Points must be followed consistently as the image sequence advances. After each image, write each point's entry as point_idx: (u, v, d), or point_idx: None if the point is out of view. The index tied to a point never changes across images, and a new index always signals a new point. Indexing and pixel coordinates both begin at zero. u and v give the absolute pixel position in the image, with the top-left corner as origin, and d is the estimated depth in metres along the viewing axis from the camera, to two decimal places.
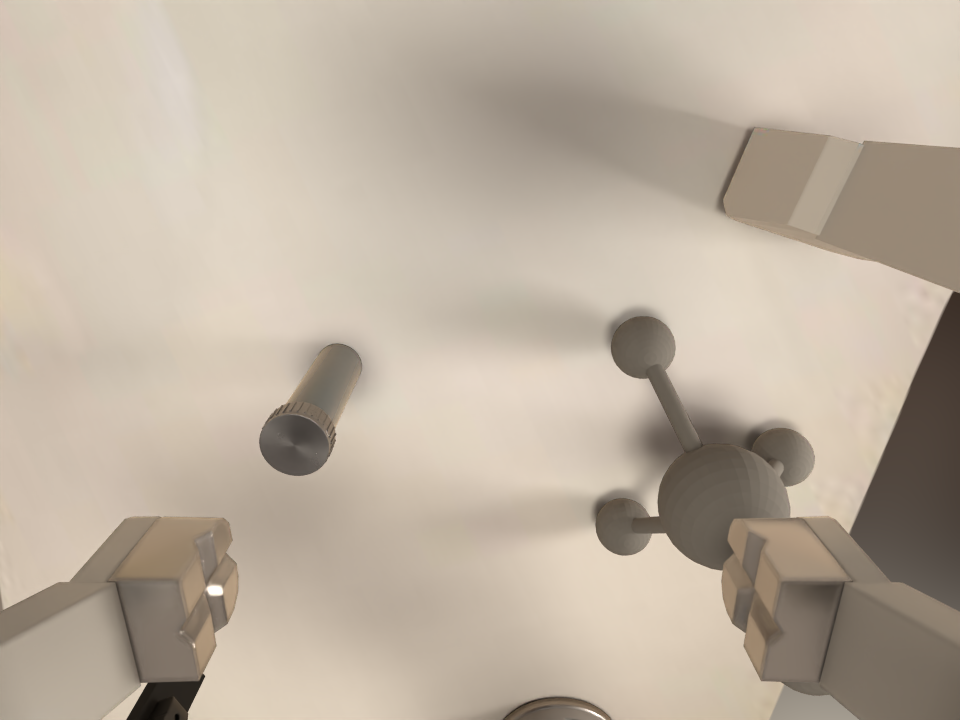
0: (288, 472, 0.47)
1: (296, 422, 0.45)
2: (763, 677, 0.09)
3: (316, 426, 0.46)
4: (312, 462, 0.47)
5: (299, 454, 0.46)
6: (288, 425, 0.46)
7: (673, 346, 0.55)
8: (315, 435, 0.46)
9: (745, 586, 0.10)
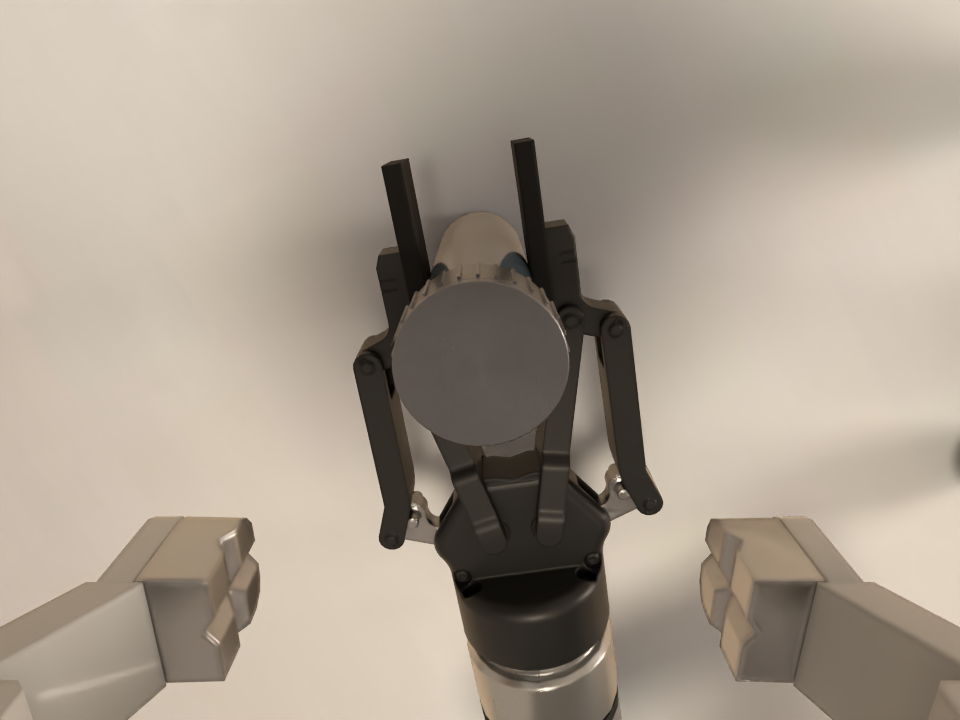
0: (470, 439, 0.19)
1: (481, 303, 0.17)
2: (737, 677, 0.09)
3: (533, 306, 0.18)
4: (529, 404, 0.19)
5: (495, 389, 0.18)
6: (461, 315, 0.18)
7: None
8: (532, 331, 0.18)
9: (721, 586, 0.10)
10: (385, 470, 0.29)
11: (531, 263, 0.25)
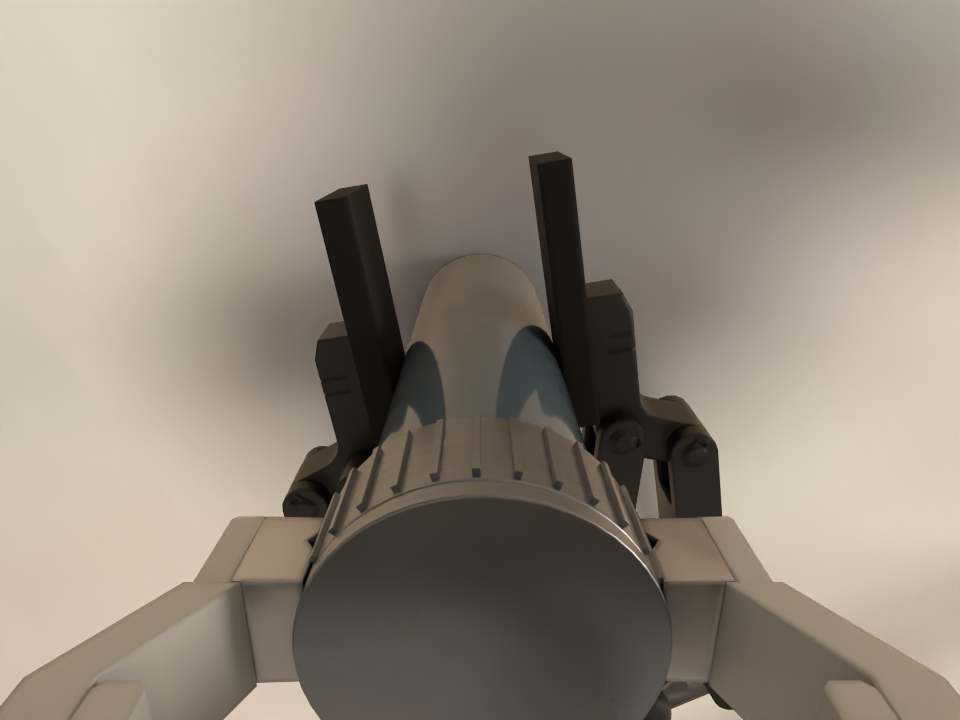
0: None
1: (484, 538, 0.08)
2: None
3: (600, 543, 0.08)
4: None
5: (512, 695, 0.09)
6: (440, 561, 0.08)
7: None
8: (596, 592, 0.08)
9: None
10: None
11: (563, 356, 0.16)
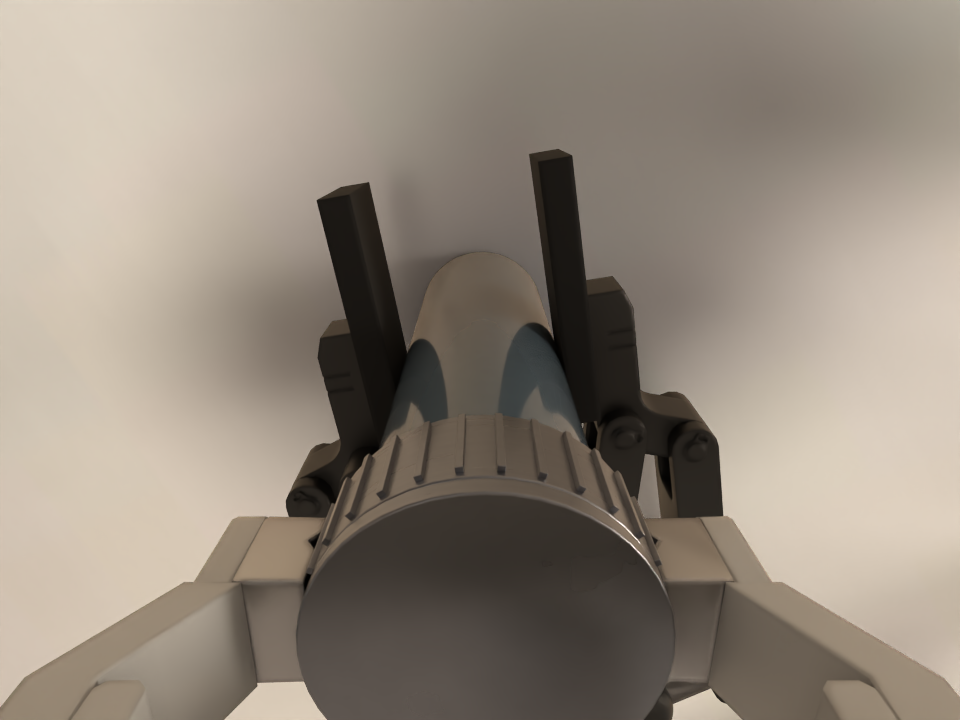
0: (644, 698, 0.09)
1: (344, 630, 0.08)
2: None
3: (366, 542, 0.08)
4: (598, 587, 0.08)
5: (541, 639, 0.08)
6: (363, 665, 0.09)
7: None
8: (424, 553, 0.08)
9: None
10: None
11: (564, 352, 0.16)
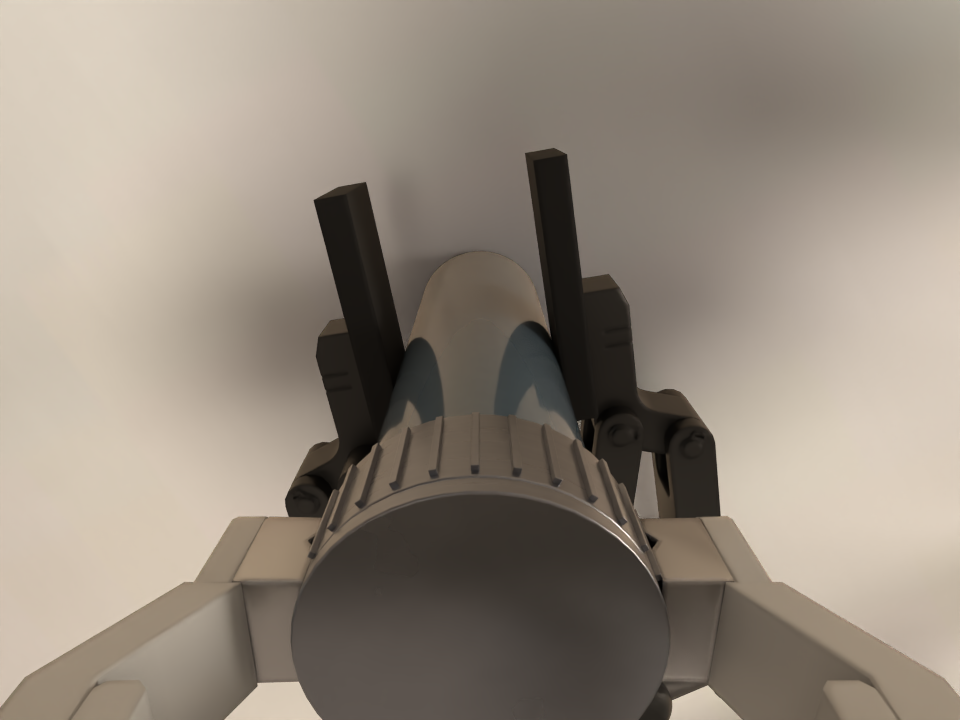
0: (580, 530, 0.08)
1: None
2: None
3: (331, 712, 0.09)
4: (414, 555, 0.08)
5: (471, 608, 0.08)
6: None
7: None
8: (350, 677, 0.09)
9: None
10: None
11: (561, 350, 0.16)
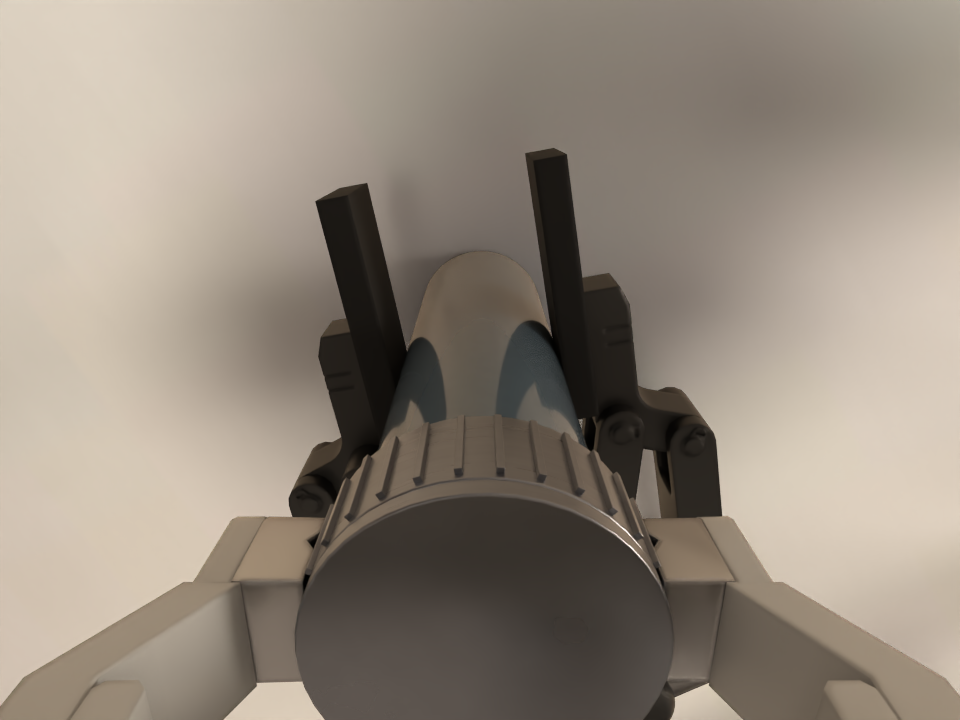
0: (349, 557, 0.08)
1: (592, 719, 0.09)
2: None
3: None
4: (354, 683, 0.09)
5: (425, 652, 0.08)
6: (599, 685, 0.09)
7: None
8: None
9: None
10: None
11: (562, 349, 0.16)
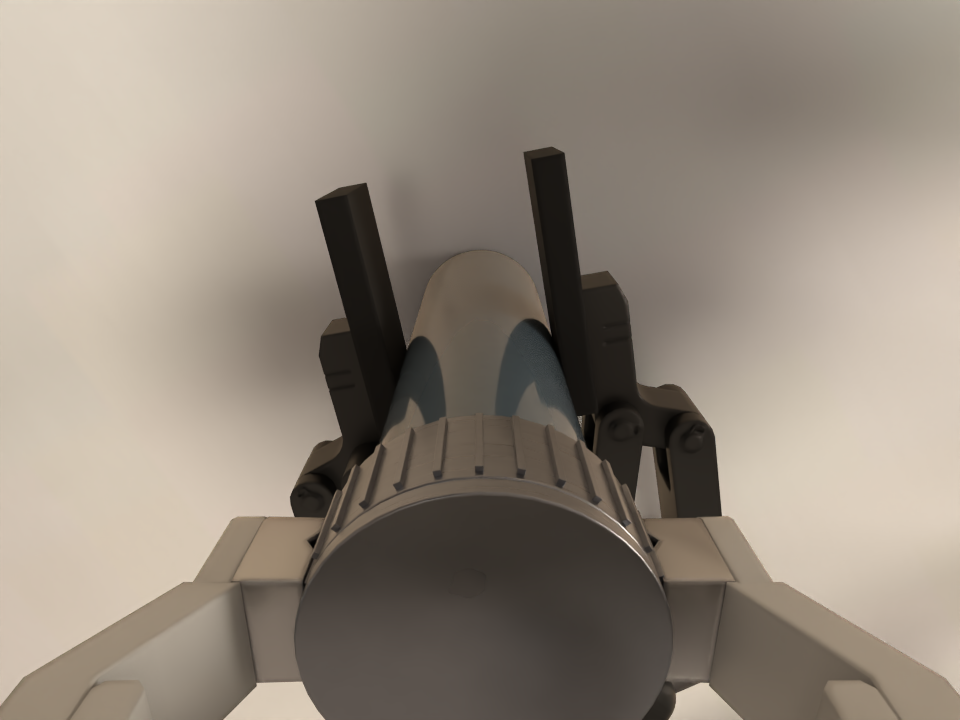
0: None
1: (597, 579, 0.08)
2: None
3: (658, 647, 0.08)
4: None
5: (467, 697, 0.09)
6: (549, 567, 0.08)
7: None
8: (614, 675, 0.09)
9: None
10: None
11: (561, 346, 0.16)
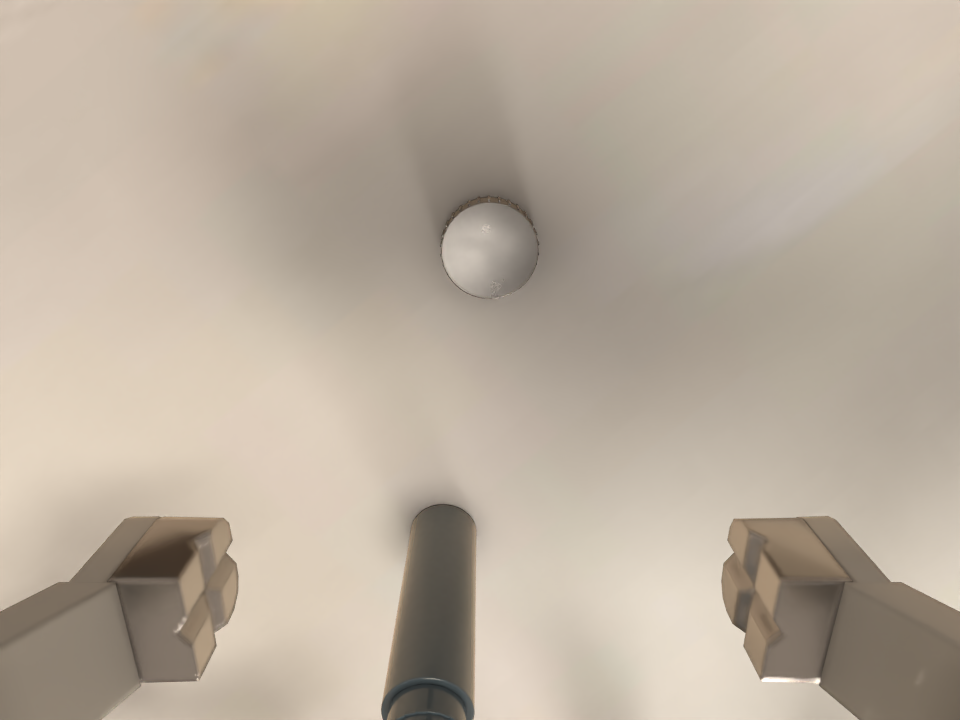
0: (452, 276, 0.34)
1: (518, 227, 0.33)
2: (763, 677, 0.09)
3: (534, 249, 0.33)
4: (490, 286, 0.34)
5: (485, 266, 0.33)
6: (506, 224, 0.33)
7: None
8: (523, 258, 0.33)
9: (745, 586, 0.10)
10: None
11: None
